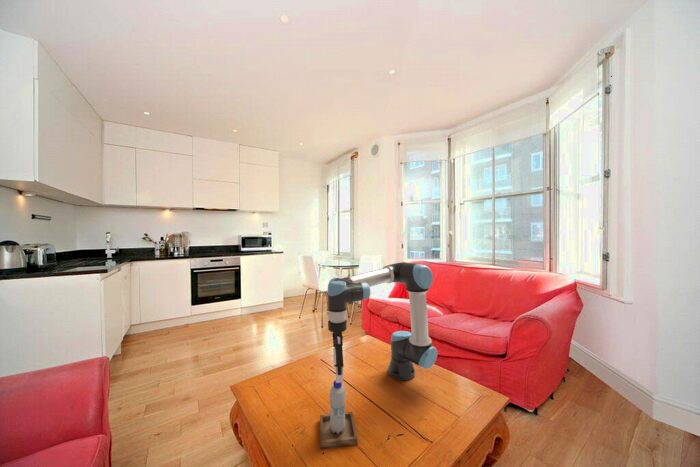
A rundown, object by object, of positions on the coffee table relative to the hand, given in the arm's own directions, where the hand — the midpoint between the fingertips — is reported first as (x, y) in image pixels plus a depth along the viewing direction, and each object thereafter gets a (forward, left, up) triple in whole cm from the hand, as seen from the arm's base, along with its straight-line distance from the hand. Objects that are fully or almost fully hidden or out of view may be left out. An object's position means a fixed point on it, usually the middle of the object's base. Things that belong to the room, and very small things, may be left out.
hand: (337, 371), depth 100 cm
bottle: (0, 0, -24) cm, 24 cm away
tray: (0, 0, -24) cm, 24 cm away
